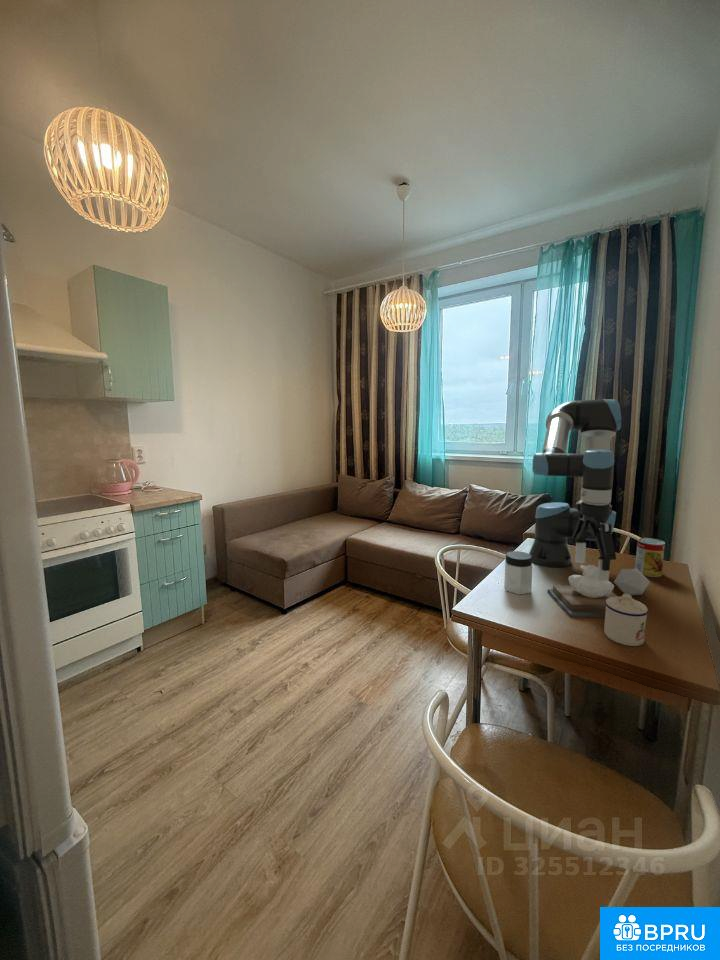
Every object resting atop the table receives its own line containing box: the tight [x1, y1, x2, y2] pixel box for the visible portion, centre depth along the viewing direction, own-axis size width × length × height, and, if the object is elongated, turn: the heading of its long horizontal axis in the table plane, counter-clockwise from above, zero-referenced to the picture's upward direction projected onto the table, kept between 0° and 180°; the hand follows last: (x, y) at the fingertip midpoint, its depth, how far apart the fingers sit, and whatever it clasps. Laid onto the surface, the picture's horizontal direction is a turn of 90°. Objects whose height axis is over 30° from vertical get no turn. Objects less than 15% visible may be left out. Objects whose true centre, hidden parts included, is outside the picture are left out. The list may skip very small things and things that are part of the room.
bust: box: [567, 563, 615, 598], centre depth 115 cm, size 12×8×11 cm
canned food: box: [634, 537, 666, 578], centre depth 138 cm, size 8×8×12 cm
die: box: [613, 568, 650, 596], centre depth 123 cm, size 8×9×10 cm
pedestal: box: [547, 584, 619, 618], centre depth 117 cm, size 16×18×3 cm
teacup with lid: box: [603, 593, 649, 647], centre depth 100 cm, size 12×9×12 cm
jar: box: [503, 550, 533, 595], centre depth 128 cm, size 9×8×12 cm
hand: (590, 570), depth 116 cm, fingers open, 13 cm apart
